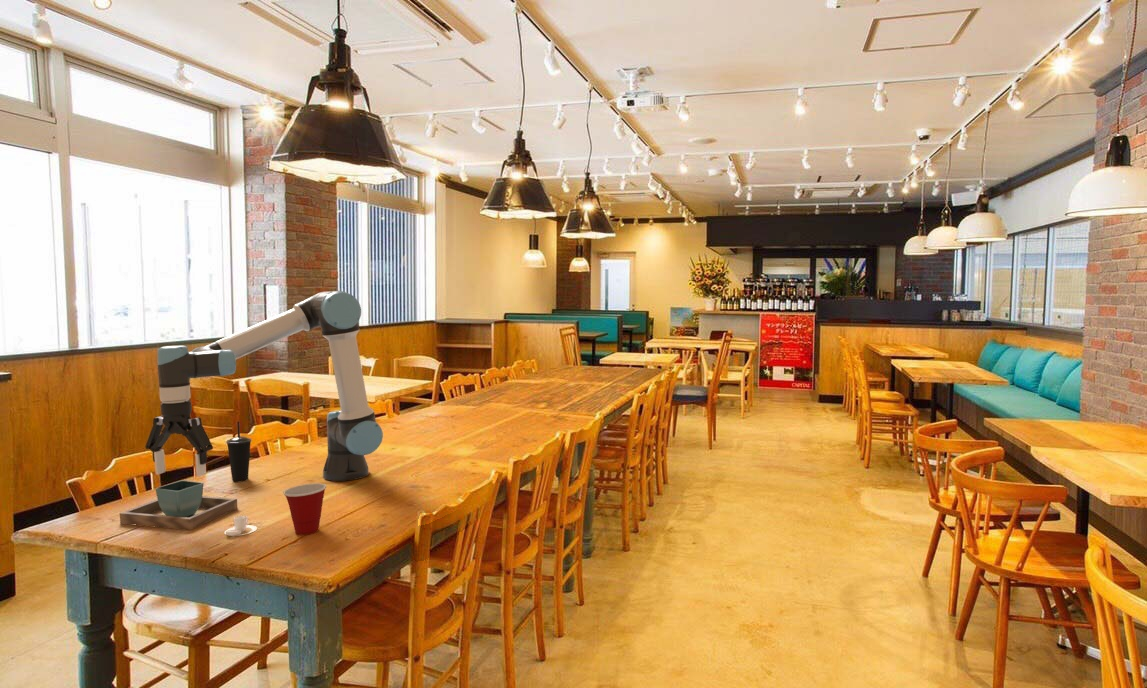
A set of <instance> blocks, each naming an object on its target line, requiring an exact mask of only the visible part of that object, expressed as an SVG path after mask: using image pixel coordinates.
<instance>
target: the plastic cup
mask: <svg viewBox="0 0 1147 688" xmlns="http://www.w3.org/2000/svg"><path fill="white" fill-rule="evenodd" d="M326 488H327V485H326V484H325V483H320V482H318V483H316V482H315V483H313V482H312V483H305V484H300V485H296V486H293V487H289V488H287V489H284V491H283V496H284V497H285V498H286V501H287V503H288V508H289V512H290V516H291V520H292V524H293V528H294V529H293V530H294V532H295V534H296V535H300V536H302V535H303V536H304V535H305V536H307V535H311V534H312V535H313V534H315V533H317V532H318V531H319V529H320V522H321V521H320V520H321V518H322V509H323V503H324V496H325V490H326Z"/></svg>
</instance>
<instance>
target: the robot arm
mask: <svg viewBox="0 0 1147 688" xmlns="http://www.w3.org/2000/svg"><path fill="white" fill-rule="evenodd" d="M361 315H362V308H361V304H360V302H359V300H358V299H357V298H356V296H354V295H352V294H351V293H349V292H346V291H343V290H333V291H332V290H331V291H329V290H325V291H321V292H317V293H316V294H314V295H312V296H310V297H308V298H306V299H304V300H303V301H300V302H297V303H295V304H293V306H292V308H291V309H289V310H287V311H285V312H282V313H279V314H278V315H275V316H273V317H270V318H268V319H266V320H264V321H261V322H259V323H257V324H254V325H252V326H249V327H247V328H245V329H243V330H239V331H237V332H236V333H232V334H230V335H228V336H225V337H223V338H221V339H219V340H216V341H214V342H212V343H209V344H206V345H204V346H198V347H196V348H194V349H192V350H191V351H189V349H188V346H186V345H166V346H161V347H159V348H158V349H157V352H156V354H157V356H156V357H157V359H156V360H157V363H156V365H157V373H158V374H157V377H158V387H159V390H158V391H159V400H160V401H161V403H160V415H161V416H156V417H154V418H153V419H152V427H151V430H150V433H149V435H148V438H147V441H146V444H145V449H146V450H150V451H151V452H152V461H153V463H154V470H155V475H161V474H163V473H166V461H165V460H166V459H165V458H166V457H165V450H164V449H163V447H164V445H165V444H166V442H167V441H168V440H169V437H171V435H172V434H177V435H182V436H184V437H185V439H187V441H189V443H190V445H191V446H192V447H193V448H194V450H195V451H196V453H195V456H194V457H195V472H196V477H197V478H198V477H202V476H205V475H207V467H206V466H207V465H206V464H208V456H207V455H208V452H209V451H212V450H213V449H214V446H213V444H212V442H211V440H210V438H209V436H208V435H207V432H206V429H205V428H204V426H203V423H202V418H201V417H200V416H199V417H195V418H192V417H191V413H192V412H193V409H192V401H191V400H190V399H191V397H192V396H191V382H190V381H191V379H197V378H210V377H211V378H212V377H225V376H231V375H234V374H235V373H236V371H237V360H238V359H240V358H242V357H245V356H247V355H250V354H252V353H254V352H256V351H258V350H260V349H263V348H265V347H267V346H270V345H272V344H274V343H276V342H278V341H282V340H284V339H285V338H289V337H290V336H292V335H294V334H298V333H299V332H302V331H305V332H309V331H312V330H314V329H316V328H320V330H321V335H322V337H323V338H325V339H326V340H327V341H328V345H329V351H330V356H331V363H332V367H333V373H334V379H335V384H336V389H337V394H338V395H337V396H338V399H339V400H338V401H339V405H340V410H333V411H329V412H328V413H327V416H326V419H327V420H326V431H327V432H326V434H327V435H326V436H327V455H326V456H327V457H326V460H325V463H324V466H323V470H322V477H323V479H324V480H327V481H332V482H334V481H335V482H342V481H343V482H346V481H353V480H358V479H361V478H365V477H367V476H368V475H369V472H370V471H369V465H368V462H367V459H366V457H365V456H368V455H371V454H372V453H374V452H375V451H377V449H378V448H380V446H381V444H382V442H383V438H384V432H383V429H382V427H381V426H380V424H378V422H377V420H376V419H377V418H376V415H375V410H374V409H373V408H371V406H369V401H368V398H367V397H368V395H367V391H366V385H365V381H364V374H363V368H362V363H361V357H360V352H359V346H358V340H357V335H358V333H359V332H360V331H361V329H360V324H359V322H360V319H361ZM163 426H164V427H163Z"/></svg>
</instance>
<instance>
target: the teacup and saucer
mask: <svg viewBox="0 0 1147 688" xmlns="http://www.w3.org/2000/svg"><path fill="white" fill-rule="evenodd" d="M248 520H249V517H248V516H247V515H237V516H234V517H233V527H230V528H228V529H226V530H225V531H224V535H225V536H228V537H238V536H239V537H240V536H246V535H249V534H253V533H255V532H256V531H257V530H258V527H257V526H256V525H251V524H250V525H249V524H248ZM247 528H250V529H251V530H250V531H248V532H246V533H245V531H246V529H247ZM242 532H244V533H242Z"/></svg>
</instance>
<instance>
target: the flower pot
mask: <svg viewBox="0 0 1147 688" xmlns="http://www.w3.org/2000/svg"><path fill="white" fill-rule="evenodd" d="M204 485H205V482H201V481H191V480H178V481H175V482H174V481H173V482H172V483H169V484H164V485H162V486H158V487H156V488H155V493H156V497H157V498H156V500H157V499H158V503H159V506H160V508H161V510H160V511H162V513H163V515H166V516H177V517H189V516H190V517H191V516H194V515H196V514H197V511H198V510H199V508H200V507H199V506H200V504H201V501H202V496H204V494H203V493H204Z"/></svg>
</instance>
